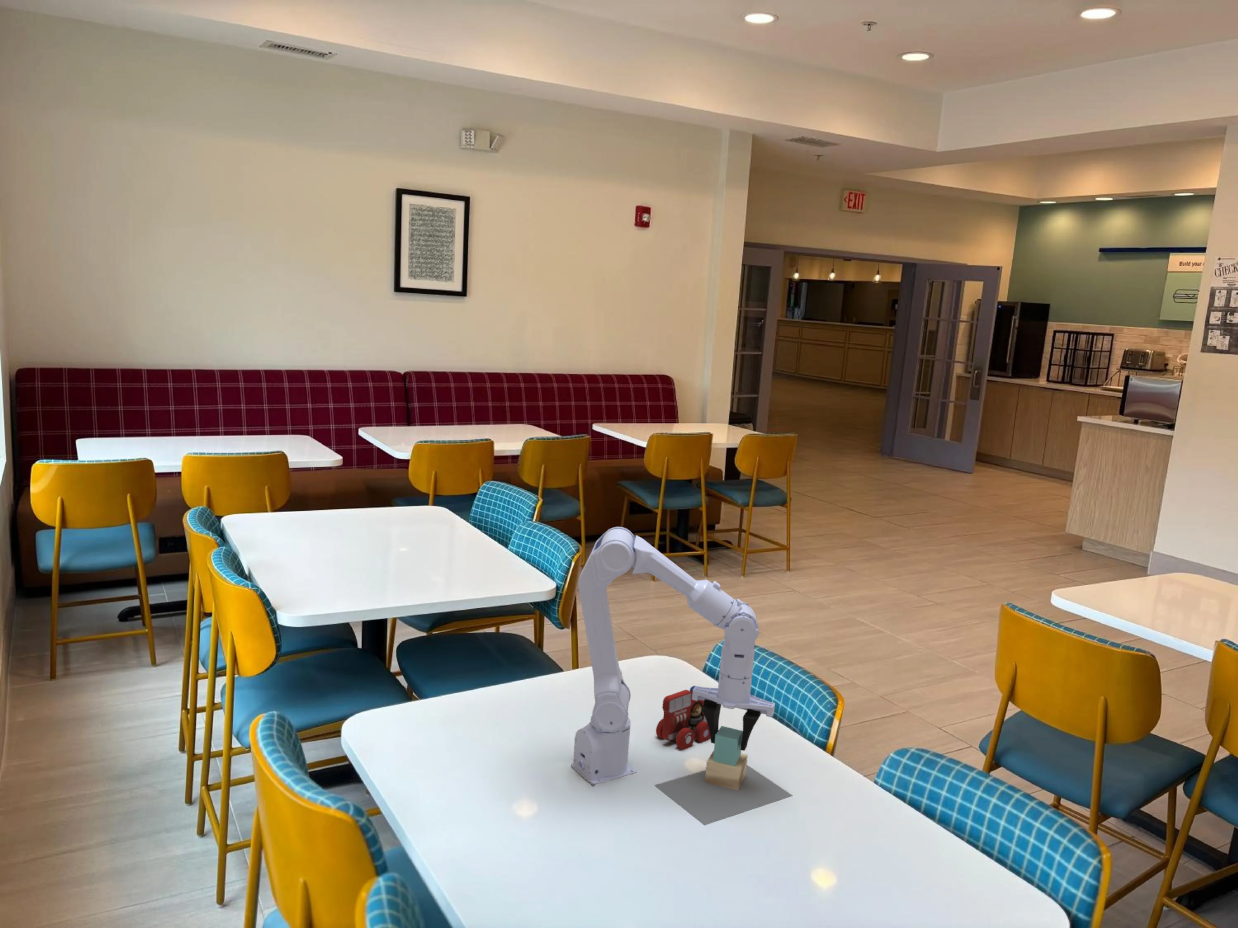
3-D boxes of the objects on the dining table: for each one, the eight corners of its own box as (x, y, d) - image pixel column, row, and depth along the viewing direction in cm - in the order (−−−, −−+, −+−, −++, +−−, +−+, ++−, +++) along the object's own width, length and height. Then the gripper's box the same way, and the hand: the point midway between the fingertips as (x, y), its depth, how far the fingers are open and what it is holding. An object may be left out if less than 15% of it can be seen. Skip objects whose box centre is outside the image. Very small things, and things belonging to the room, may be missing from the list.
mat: (704, 827, 153) (704, 824, 153) (653, 787, 164) (654, 784, 164) (792, 797, 164) (792, 795, 164) (739, 761, 175) (740, 759, 175)
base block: (737, 790, 164) (739, 769, 164) (704, 781, 166) (706, 761, 166) (745, 774, 170) (747, 754, 169) (713, 767, 172) (715, 746, 171)
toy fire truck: (718, 737, 185) (722, 688, 183) (674, 755, 176) (679, 704, 174) (692, 724, 190) (696, 676, 188) (648, 741, 181) (653, 691, 179)
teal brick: (734, 766, 165) (737, 740, 164) (713, 760, 166) (715, 734, 165) (740, 756, 168) (743, 730, 167) (719, 751, 170) (721, 725, 169)
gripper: (689, 672, 163) (683, 744, 166) (771, 689, 158) (763, 763, 161) (701, 658, 170) (694, 728, 172) (780, 675, 165) (772, 746, 167)
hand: (728, 744), depth 167 cm, fingers open, 5 cm apart
